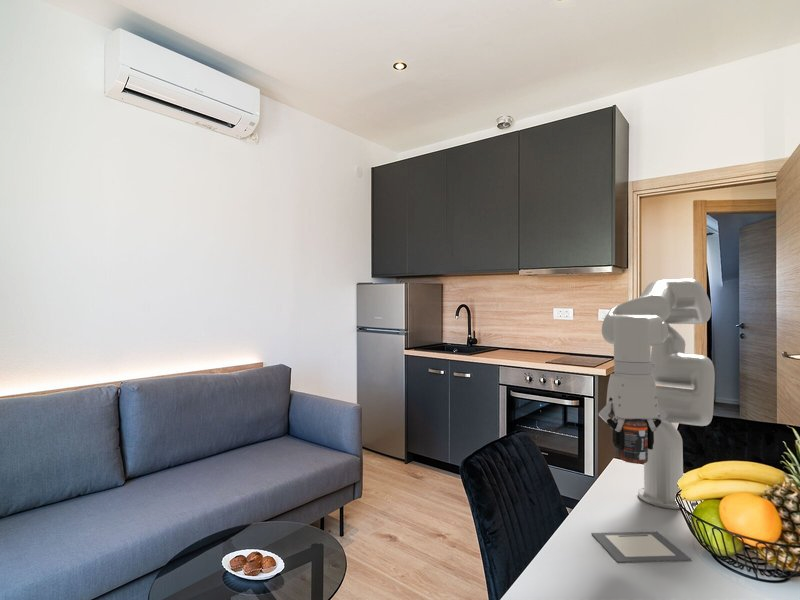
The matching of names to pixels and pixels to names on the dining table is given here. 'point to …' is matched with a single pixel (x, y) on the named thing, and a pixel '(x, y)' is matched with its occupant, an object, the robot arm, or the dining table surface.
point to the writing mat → (640, 547)
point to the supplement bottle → (635, 441)
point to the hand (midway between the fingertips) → (633, 447)
